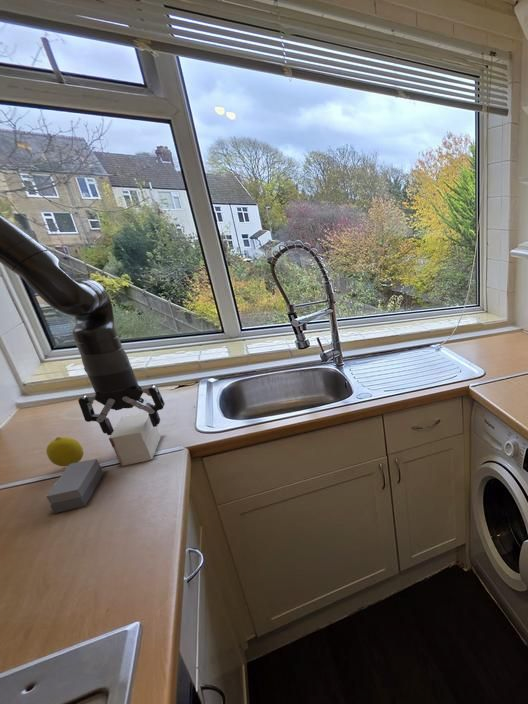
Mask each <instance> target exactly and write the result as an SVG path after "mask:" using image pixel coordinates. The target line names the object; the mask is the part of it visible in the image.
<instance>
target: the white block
mask: <svg viewBox="0 0 528 704" xmlns="http://www.w3.org/2000/svg"><path fill="white" fill-rule="evenodd" d="M161 438H162V436H161V434H160V431H159V428H158V426H156V427H153V425H151V427H150V430H149V432H148V434H147V436H146V438H145V440H144V442H140V443H135V444H129V445H124V446H119V447H114V448H113V450H114V452H115V455H116V457H117V460H118V462H119V464H120V466H121V467H124V466H128V465H129V466H130V465H134V464H138V463H143V462H148V461H152V459H153V458H154V455H155V452H156V450H157V448H158V446H159V444H160V440H161Z"/></svg>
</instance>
